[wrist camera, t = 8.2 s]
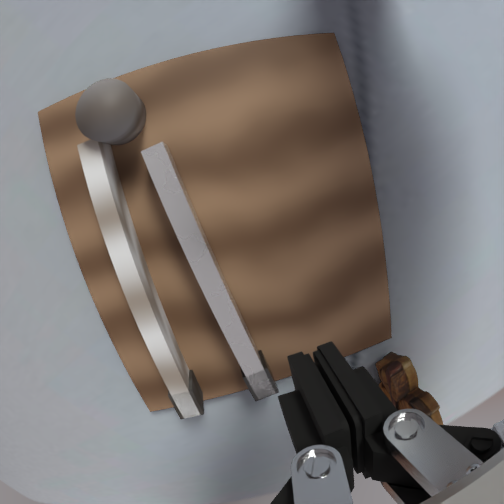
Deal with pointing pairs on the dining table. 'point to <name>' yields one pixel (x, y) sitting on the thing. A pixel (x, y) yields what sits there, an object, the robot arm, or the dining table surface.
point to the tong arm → (208, 270)
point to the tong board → (224, 211)
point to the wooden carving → (405, 386)
